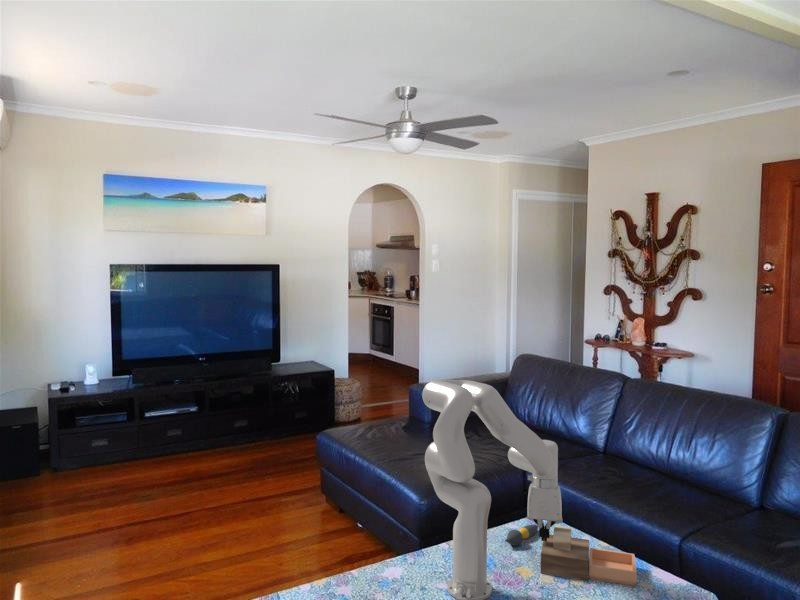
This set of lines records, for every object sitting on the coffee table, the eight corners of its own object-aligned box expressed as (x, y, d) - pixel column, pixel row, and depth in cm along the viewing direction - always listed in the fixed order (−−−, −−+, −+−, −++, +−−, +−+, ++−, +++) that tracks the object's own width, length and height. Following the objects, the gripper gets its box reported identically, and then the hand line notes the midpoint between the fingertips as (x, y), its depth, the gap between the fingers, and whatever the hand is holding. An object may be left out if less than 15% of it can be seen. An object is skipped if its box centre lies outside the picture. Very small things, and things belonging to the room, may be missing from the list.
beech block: (570, 550, 181) (570, 534, 181) (553, 548, 182) (553, 532, 182) (571, 543, 186) (571, 527, 185) (554, 541, 187) (554, 525, 187)
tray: (636, 586, 172) (636, 572, 172) (588, 579, 176) (589, 565, 176) (634, 566, 183) (634, 553, 183) (589, 560, 188) (589, 547, 187)
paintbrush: (527, 527, 212) (527, 513, 211) (540, 531, 209) (540, 516, 208) (501, 548, 196) (501, 533, 195) (515, 552, 193) (515, 537, 193)
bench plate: (588, 580, 175) (588, 560, 175) (540, 573, 180) (540, 553, 179) (588, 558, 189) (589, 539, 188) (544, 552, 193) (544, 533, 192)
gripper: (518, 482, 183) (518, 541, 184) (569, 488, 179) (568, 548, 180) (521, 474, 191) (521, 531, 192) (570, 479, 186) (569, 537, 187)
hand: (544, 539), depth 186 cm, fingers closed
